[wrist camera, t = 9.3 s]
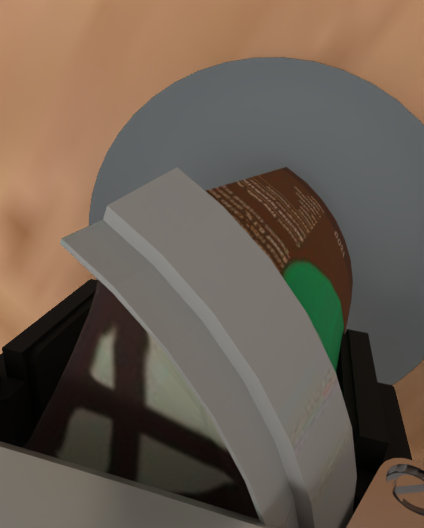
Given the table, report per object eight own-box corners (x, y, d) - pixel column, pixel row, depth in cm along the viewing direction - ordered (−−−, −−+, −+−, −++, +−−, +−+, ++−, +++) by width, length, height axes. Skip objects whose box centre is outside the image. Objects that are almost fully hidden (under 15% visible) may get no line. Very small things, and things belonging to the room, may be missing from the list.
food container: (270, 444, 18) (136, 739, 10) (166, 358, 19) (-32, 560, 11) (491, 242, 11) (660, 663, 3) (312, 125, 12) (71, 199, 4)
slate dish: (528, 75, 14) (545, 73, 13) (399, 433, 21) (403, 451, 20) (94, 47, 17) (79, 44, 16) (106, 361, 24) (95, 373, 23)
